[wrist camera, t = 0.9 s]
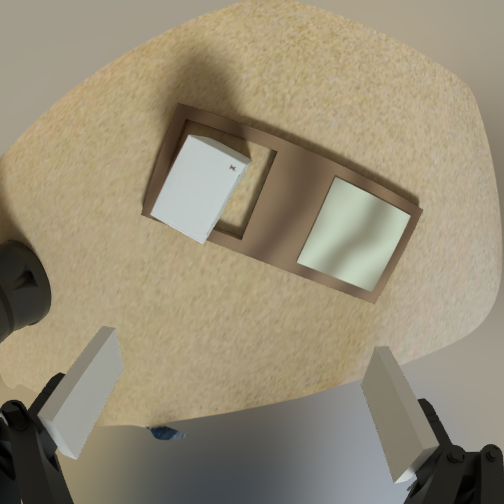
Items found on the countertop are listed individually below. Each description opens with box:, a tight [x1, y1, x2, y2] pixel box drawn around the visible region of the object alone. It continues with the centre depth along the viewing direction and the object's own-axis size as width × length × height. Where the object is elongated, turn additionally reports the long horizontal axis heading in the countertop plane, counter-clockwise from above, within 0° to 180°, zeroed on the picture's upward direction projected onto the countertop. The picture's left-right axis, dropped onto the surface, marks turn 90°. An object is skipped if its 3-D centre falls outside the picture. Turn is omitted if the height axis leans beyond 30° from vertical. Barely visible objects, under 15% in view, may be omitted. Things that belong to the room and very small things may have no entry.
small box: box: [150, 135, 252, 244], centre depth 29 cm, size 8×6×10 cm
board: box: [141, 103, 423, 304], centre depth 34 cm, size 32×14×1 cm, turn 68°
